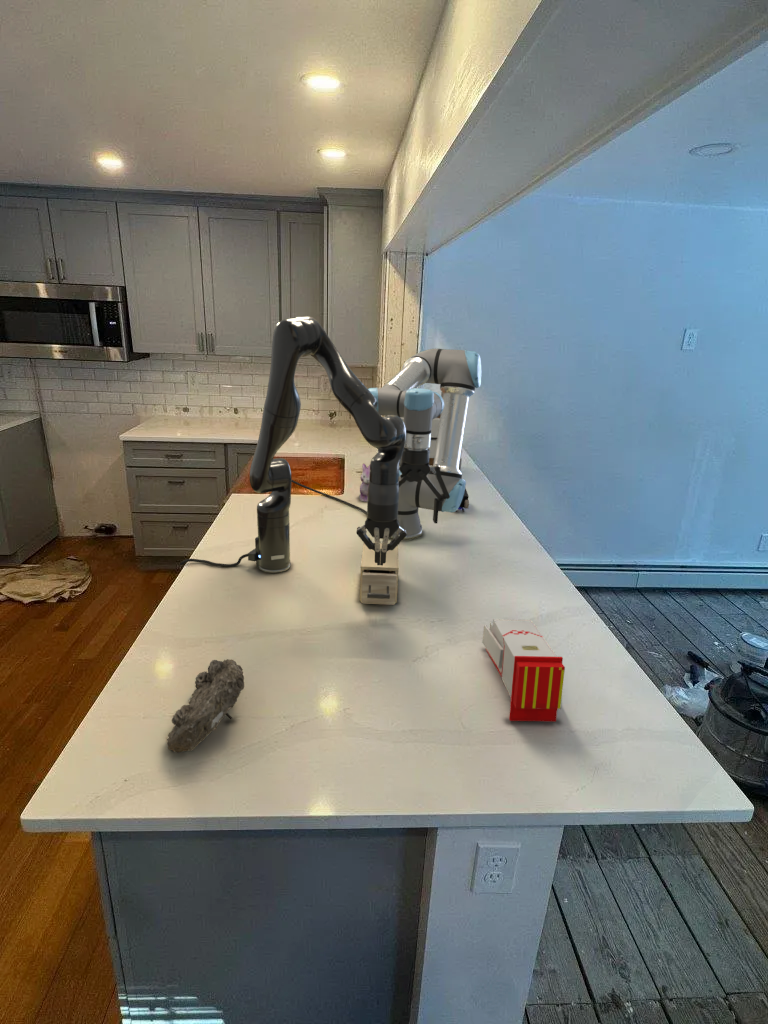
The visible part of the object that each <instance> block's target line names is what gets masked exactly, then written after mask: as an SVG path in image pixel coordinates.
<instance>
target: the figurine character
mask: <svg viewBox="0 0 768 1024" xmlns="http://www.w3.org/2000/svg"><path fill="white" fill-rule="evenodd" d="M469 498H470V496H469V494H468V491H467V488H466V487H465V491H464V495H463V498H462V501H461V504H460V506H459V508H458V509H457V510H456V511H455V512H456V513H458V510H461V511H462V513H465V509H469V506H470V500H469Z"/></svg>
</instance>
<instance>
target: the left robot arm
mask: <svg viewBox="0 0 768 1024" xmlns="http://www.w3.org/2000/svg"><path fill="white" fill-rule="evenodd" d="M271 341H272V343H271V356H270V369H269V377H268V383H267V391H266V396H265V401H264V405H263V410H262V417H261V422H260V423H261V424H260V428H259V434H258V440H257V444H256V447H255V450H254V454H253V456H252V460H251V464H250V468H249V483H250V487H251V489H252V490H253V491H254V492H255V493H257V494H267V493H270V494H269V495H268V496H266V497H265V498H263V499H262V500H261V501H259V502H258V503H257V505H256V519H257V521H256V523H257V536H256V537H255V538H254V547H255V548H253V549H252V550H251V551H249V552H247V553H245V554H243V555H241V556H240V557H239V558H238V560H237V561H236V562H234V563H220V562H219V563H218V562H213V561H210V560H206V559H198V558H185V559H184V560H182V561H181V562H180V564H179V566H180V565H181V566H183V565H184V564H186V563H189V562H192V563H193V562H194V563H201V564H207V565H209V566H214V567H223V568H233V567H237V566H239V565H240V563H241V562H242V560H243V559H244V558H247V561H250V562H255V568H257V569H259V570H260V571H262V572H263V573H270V574H277V573H283V572H285V571H286V572H287V570H289V569H290V568H291V542H290V541H291V536H290V535H291V533H290V530H291V529H290V508H291V502H292V501H291V500H292V482H291V481H292V480H293V477H292V470H291V466H290V463H289V461H288V460H287V459H285V458H283V457H276V458H274V457H275V456H276V455H277V453H278V451H279V450H280V449H281V448H282V446H283V445H284V444H285V443H286V442H287V441H288V440H289V438H291V436H292V435H293V434H294V432H296V431H295V430H296V429H297V426H298V422H299V418H300V413H301V408H302V402H301V399H300V398H301V397H300V394H299V391H298V389H297V387H296V384H295V374H296V369H297V366H298V362H299V360H300V359H301V358H304V357H308V356H311V357H312V358H313V359H314V360H315V361H317V362H318V363H319V364H320V365H321V367H322V368H323V369H324V371H325V373H326V376H327V379H328V384H329V386H330V390H331V393H332V394H333V396H334V397H335V399H336V400H337V401H338V403H339V404H340V405H341V406H342V407H343V408H344V410H346V412H347V413H348V414H349V415H350V416H351V417H352V418H353V421H354V422H355V424H356V426H357V428H358V430H359V432H360V434H361V435H362V437H363V438H364V440H365V441H366V442H367V443H368V444H369V445H370V446H372V447H373V448H375V449H377V452H376V454H375V455H374V456H373V457H372V458H371V460H370V462H369V465H370V476H369V486H368V495H367V496H368V502H366V503H367V506H366V507H367V508H366V511H367V515H366V519H365V521H364V524H363V525H361V526H358V527H356V534H357V536H358V538H359V539H360V540H361V542H363V543H364V544H365V545H366V546H367V547H368V549H372V550H374V551H375V563H377V565H382V566H383V563H385V562H386V552H387V551H388V550H394V549H395V547H396V546H397V545H398V546H399V544H400V543H401V542H402V541H404V540H403V539H404V538H405V537H406V536H407V532H406V529H402V528H401V527H400V526H399V522H398V502H399V464H400V460H401V457H402V453H403V449H404V445H405V441H406V427H405V424H404V422H403V420H402V419H401V418H400V417H398V416H396V415H388V416H381V415H380V414H379V413H378V411H377V410H376V408H377V404H378V403H377V400H376V398H375V397H374V396H373V394H372V393H371V392H370V391H369V390H368V389H369V388H367V386H366V385H365V384H364V383H363V382H362V381H361V380H360V378H358V376H356V374H355V373H354V372H353V371H352V369H351V368H350V367H349V365H348V364H347V362H346V361H345V360H344V358H343V357H342V355H341V353H340V352H339V350H338V349H337V347H336V346H335V344H334V343H333V341H332V340H331V338H330V337H329V335H328V334H327V331H326V330H325V329H324V327H323V326H322V325H321V323H319V321H318V320H317V319H315V318H314V317H313V316H310V315H300V316H294V317H289V318H284V319H281V320H280V321H278V323H277V324H276V325H275V327H274V330H273V335H272V340H271ZM396 531H397V536H396V537H395V538H394V539H391V541H390V542H389V540H390V537H391V536H392V535H393V534H394V533H395V532H396ZM367 532H368V533H369V535H370V536H371V537H372V538H373V539H374V542H373V540H372V539H371V538H370V537H369V535H368V534H367ZM381 539H382V542H381ZM380 543H382V549H380ZM380 552H381V558H380Z"/></svg>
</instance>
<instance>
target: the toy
mask: <svg viewBox="0 0 768 1024" xmlns="http://www.w3.org/2000/svg"><path fill="white" fill-rule="evenodd" d="M481 639H482V640H481V643H482V645H483V646H484V648H485V650H486V651H485V652H486V653H487V654H488V656H489V658H490V660H491V661H492V663H493V665H494V667H495V669H496V671H497V672H498V675H499V676H500V678H501V680H502V683H503V684H504V686H505V688H506V691H507V693H508V695H509V697H510V704H509V715H508V720H509V722H557V716H558V710H561V708H562V707H561V706H562V697H563V687H564V678H565V670H566V669H565V668H566V667H565V665H564V664H563V660H564V658H563V656H557V654H556V653H555V652H554V650H553V649H552V647H551V646H550V645H549V642H547V640H546V639H545V637H544V636H543V635H542V633H541V631H540V630H539V629H538V627H537V625H536V624H535V623H534V622H533V621H532V619H505V618H504V619H499V618H498V619H496V618H493V619H492V621H489V626H488V625H486V624H484V625H483V632H482V638H481Z"/></svg>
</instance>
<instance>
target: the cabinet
mask: <svg viewBox="0 0 768 1024" xmlns="http://www.w3.org/2000/svg"><path fill="white" fill-rule="evenodd" d="M380 549H382V542H380ZM361 552H362V553H361V561H360V577H359V579H360V580H359V584H360V585H359V602H362V574H363V573H366V570H386V571H393V574H396V593H395V604H397V603H398V591H399V589H398V588H399V572H400V570H399V569H400V565H399V564H400V563H399V544H398V545H397V546H396V547H395V549H394V550H388V551H387V552H386V562H385V563H383V566H382V565H377V563H375V551H374V550H372V549H368V547H367V546H366V545H365V544H364V542H363V543H362V551H361ZM380 558H381V552H380Z"/></svg>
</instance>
